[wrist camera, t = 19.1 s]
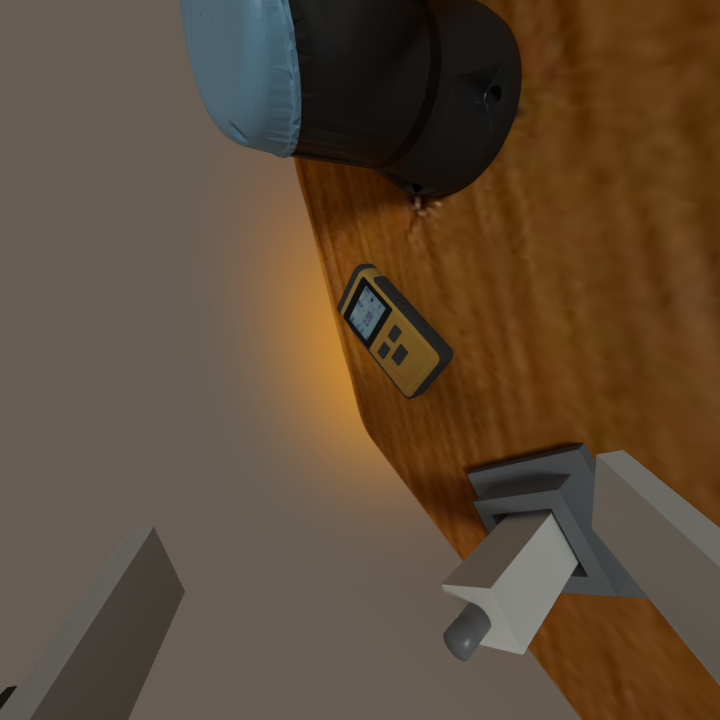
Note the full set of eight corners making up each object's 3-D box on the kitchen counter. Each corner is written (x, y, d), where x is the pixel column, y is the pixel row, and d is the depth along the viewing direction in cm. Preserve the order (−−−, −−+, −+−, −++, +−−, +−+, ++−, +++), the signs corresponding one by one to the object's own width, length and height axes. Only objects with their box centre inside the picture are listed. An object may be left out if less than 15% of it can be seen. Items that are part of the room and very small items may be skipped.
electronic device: (423, 396, 46) (405, 405, 44) (351, 310, 53) (332, 313, 51) (461, 351, 41) (443, 358, 38) (375, 259, 47) (355, 261, 45)
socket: (473, 469, 42) (451, 486, 39) (584, 443, 33) (565, 463, 30) (530, 580, 40) (511, 607, 37) (668, 587, 30) (656, 625, 27)
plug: (515, 506, 38) (417, 609, 27) (560, 501, 34) (467, 617, 24) (537, 549, 37) (445, 671, 26) (586, 548, 33) (501, 690, 23)
